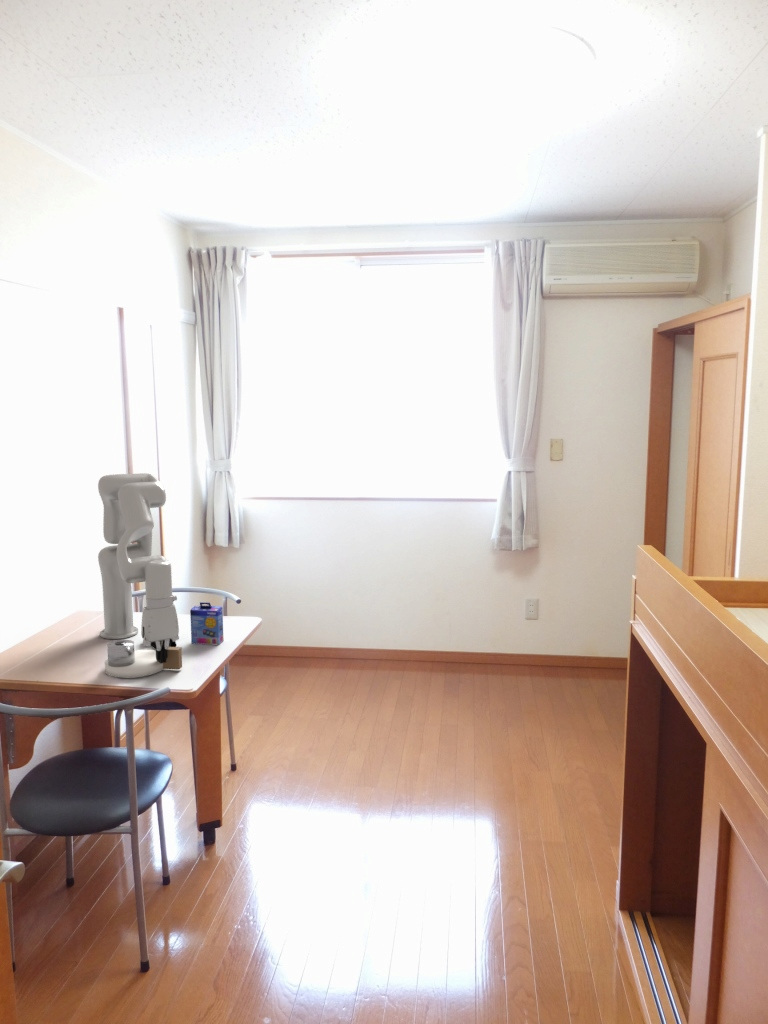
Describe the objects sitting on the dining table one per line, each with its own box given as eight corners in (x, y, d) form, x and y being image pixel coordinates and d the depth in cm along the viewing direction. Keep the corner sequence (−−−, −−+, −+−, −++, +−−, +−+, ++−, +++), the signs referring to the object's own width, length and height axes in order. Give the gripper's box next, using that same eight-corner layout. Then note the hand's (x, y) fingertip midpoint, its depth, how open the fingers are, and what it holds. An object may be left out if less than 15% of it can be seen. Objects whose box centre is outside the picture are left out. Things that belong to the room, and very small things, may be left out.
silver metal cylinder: (111, 669, 218) (110, 648, 217) (105, 661, 224) (104, 641, 223) (138, 664, 222) (137, 644, 221) (130, 656, 228) (129, 637, 227)
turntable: (94, 676, 218) (93, 655, 217) (121, 655, 236) (120, 636, 235) (169, 679, 216) (168, 658, 215) (191, 658, 234) (190, 639, 233)
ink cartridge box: (190, 644, 250) (189, 603, 248) (195, 639, 255) (194, 598, 253) (219, 645, 249) (217, 603, 247) (224, 640, 254) (222, 599, 252)
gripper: (178, 595, 226) (181, 653, 229) (129, 603, 218) (132, 663, 220) (188, 600, 220) (190, 660, 223) (138, 608, 212) (141, 670, 214)
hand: (161, 661), depth 221 cm, fingers closed
